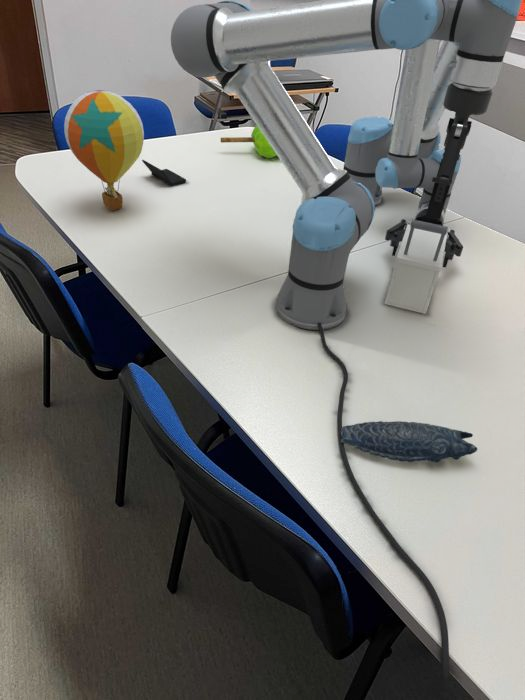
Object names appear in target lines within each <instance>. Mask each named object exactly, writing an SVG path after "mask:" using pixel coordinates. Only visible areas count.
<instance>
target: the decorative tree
mask: <svg viewBox="0 0 525 700" xmlns="http://www.w3.org/2000/svg"><path fill="white" fill-rule="evenodd" d="M220 143H252V144H253V145H254V148H255V149H256V151H257V153H258V154H259V156H262V157H264V158H266V159H272V158H274V157H278V156H277V154H276V153H275V151H274V150H273V148H272V147H271V145H270V144H269V142H268V141H267V139H266V138H265V136H264V135H263V133H262V132H261V130H260V129H259V127H258V126H257V124H255V126H254V128H253V129H252V131H251V136H246V137H245V136H244V137H243V136H241V137H239V136H238V137H237V136H236V137H235V136H234V137H232V136H231V137H227V136H226V137H220Z"/></svg>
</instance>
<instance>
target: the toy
mask: <svg viewBox="0 0 525 700" xmlns="http://www.w3.org/2000/svg"><path fill="white" fill-rule="evenodd" d="M63 128H64V130H63V131H64V132H63V133H64V137H65V141H66V144H67V146H68V148H69V150H70V151H71V152H72V154H73V156H75V158H76V159H77V161H78V162H80V163H81V165H83V166H84V167H85V168H86V169H87V170H88V171H90V172H91V173H92V174H93V175H94V176H96V177H97V178H98V179H100V180H101V183H102V184H101V185H102V187H103V191H102V193H101V198H102V203H103V205H104V207H105V208H106V209H108V210H109V211H110V212H113V211H118V210H121V209H122V208H123V203H124V201H123V195H122V194H121V193H120V192H119V191H118V190H119V188H120V183H118V182H120V181H121V178H122V177H123V176H124V175H125V174H126V173H127V172H128V171H129V170H130V169H131V167H133V165H134V164H135V163H136V161H137V160H138V159H139V158H140V155H141V153H142V150H143V147H144V141H145V131H144V130H145V129H144V125H143V121H142V119H141V116H140V114H139V113H138V111H137V109H136V108H134V106H133V105H132V103H130V102H129V101H128V100H127V99H126V98H124V97H123V96H122V95H119V94H117V93H115V92H112V91H109V90H102V89H101V90H100V89H98V90H92V91H87V92H85V93H82V95H79V96H78V97H77V98H76V99H75V100H73V102H72V103H71V105H70V107H69V108H68V111H67V112H66V114H65V118H64V124H63ZM104 183H105V184H106V185H107V186H106V187H105V186H104ZM115 183H118V185H117V190H116V188H115Z"/></svg>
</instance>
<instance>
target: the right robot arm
mask: <svg viewBox="0 0 525 700" xmlns="http://www.w3.org/2000/svg"><path fill="white" fill-rule="evenodd" d="M441 42H442V43H441ZM440 44H441V45H440ZM458 49H459V42H450V41H443V40H435V39H428V40H426V41H425V42H424V43H423V44H422V45H420V46H418V47H416V48H413V49H407V50H404V57H403V64H402V69H401V75H400V81H399V87H398V94H397V98H396V99H397V100H396V105H395V111H394V118H393V122H392V120H390V119H389V118H387V117H378V116H365V117H361V118H359V119H358V118H357V120H355V121H354V122H353V123H352V124H351V125H350V130H349V134H348V136H347V145H346V152H345V157H344V163H343V168H342V170H346V171H347V172H348V174H349V175H350V177H351V178H352V180H353V181H354V182H357V183H360V184H362V185H363V186H365V187H366V188H367V189H368V190H369V192H370V193H371V195H372V197H373V200H374V205H375V207H376V206H378V205H380V204H381V203H382V199H383V188H384V189H385V188H387V189H395V190H396V189H422V193H421V197H420V200H419V202H418V207H417V211H416V213H415V217H414V220H418V221H422V222H427V223H432V224H437V225H441V226H444V221H445V217H446V212H447V208H448V205H449V202H450V199H451V196H452V190H453V188H454V185H455V182H456V179H457V176H458V174H459V171H460V168H461V167H460V166H461V161H462V155H461V154H460V153H459V155H460V158H459V160H457V164H456V167H455V170H454V174H453V177H452V183H451V185H450V188H449V191H448V195H447V198H446V201H445V204H444V208H443V211H442V214H441V217H440V219H439V218H434V217H429V216H426V212H427V209H428V205H429V202H430V198H431V195H432V191H433V187H434V184H435V182H432V179H433V177H435V178H436V177H437V173H438V170H439V166H440V163H441V159H443V153H444V151H445V150H444V148H440V146H439V145H440V144H441V140H442V139H441V131H440V124H439V122H440V120H441V119H442V116H443V114H444V113H445V111H446V110H447V109H446V108H445V107H444V106H443V102H444V99H445V95H446V91H447V88H448V86H449V85H450V84H451V83H453V82H452V81H451V79H450V78H451V74H452V71H453V69H454V68H455V67H451V66H450V63H451V61H457V60H456V56H457V51H458ZM408 224H409V225H411V223H408V222H407V219H404V218H403V219H402V218H401V221H400V222H399V223H397V224H395V225H393V226H392V227H390V228H388V229H387V230H386V233H385V237H384V241H387V242H388V241H390V244H389V246H390V247H391V248H393V249H392V252H391V256H392V257H396V254H397V251H398V248H399V245H400V243H402V240H403V237H404V234H405V231H406V228H407V225H408ZM455 233H456V231H455V230H454V229H449V231H448V230H447V239H446V244H445V250H444V255H443V261H442V268H444V269H446V268H447V265H448V262H449V261H453V260H454V257H461V256H462V253H463V249H464V245H463V244H462V242H461V241H460V240H459V238H458V237H457V235H456V234H455Z"/></svg>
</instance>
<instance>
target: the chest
mask: <svg viewBox="0 0 525 700" xmlns="http://www.w3.org/2000/svg"><path fill="white" fill-rule="evenodd" d="M439 276H440V272H439V271H434V270H430V269H426V268H421V267H417V266H413V265H409V264H404V263H400V262H396V261H394V265H393V270H392V274H391V278H390V282H389V285H388V289H387V293H386V297H385V299H384V305H387V306H391V307H396V308H399V309H404V310H408V311H411V312H415V313H419V314H424V315H426V314H427V312H428V308H429V305H430V303H431V300H432V296H433V293H434V290H435V287H436V284H437V281H438V278H439Z"/></svg>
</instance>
